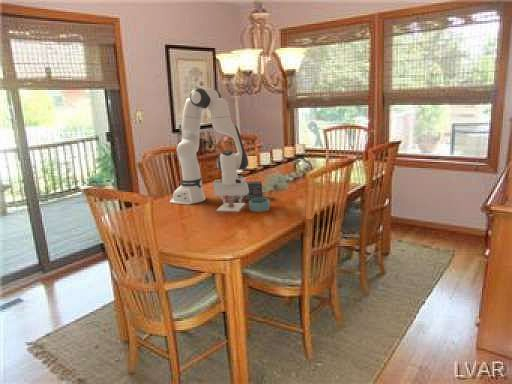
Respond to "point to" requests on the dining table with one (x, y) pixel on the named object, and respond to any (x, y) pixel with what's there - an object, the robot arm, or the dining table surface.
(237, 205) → the cover sheet
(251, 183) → the small box
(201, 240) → the dining table surface
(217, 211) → the mat
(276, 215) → the dining table surface
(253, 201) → the bowl
